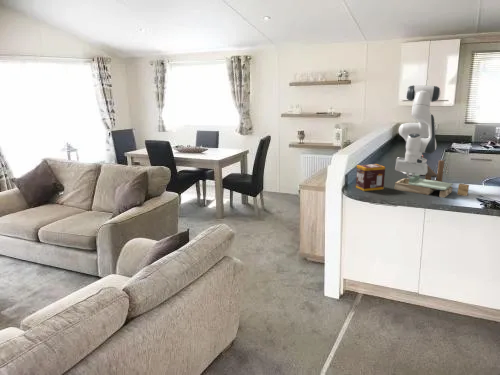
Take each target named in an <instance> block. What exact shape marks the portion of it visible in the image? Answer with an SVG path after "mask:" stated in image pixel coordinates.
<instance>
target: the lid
mask: <svg viewBox="0 0 500 375" xmlns="http://www.w3.org/2000/svg"><path fill="white" fill-rule="evenodd" d="M411 176H412V175H411ZM420 177H421V175H419V174H416V175H414V176H412V177H411V178H409V183H408V184H409V185H415V186H422V187H428V188H435V189H437V190H440V191H441V190H446V189H447V188H449V187H453V182H447V181H446V182H445V181H442V182H439V181H432V180H433V179H431V180H426V179H425V178H420Z"/></svg>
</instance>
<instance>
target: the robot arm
mask: <svg viewBox="0 0 500 375" xmlns="http://www.w3.org/2000/svg"><path fill="white" fill-rule="evenodd" d="M405 97H406V100H407V101H409V102H412V107H411V117H412V118H413V119H414V120H416V121H418V122H406V123H405V122H404V123H402V124H400V126H399V127H398V134H399V136H401V137H402V138H403V139H404V141H405V146H404V147H405V148H404V149H405V153H404V157H397V158H396V159H395V165H394V166H395V168H394V170H395V171H396V172H400V173H403V175H406V176H407V178H406V179H409V178H411V177H412V176H414V175H416V174H419V175H420V176H426V174H427V171H428V166H429V165H428V163H427V161H428V159H426V158H425V157H424V153H425V154H433V153H434V152H436V149H437V140H436V126H435V116H434V114H431V110H430V107H431V103H433V102H437V101H439V99H440V97H441V89H440V87H439V86H436V85H426V84H425V85H409V86H408V87H407V89H406V90H405ZM427 165H428V166H427Z"/></svg>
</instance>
